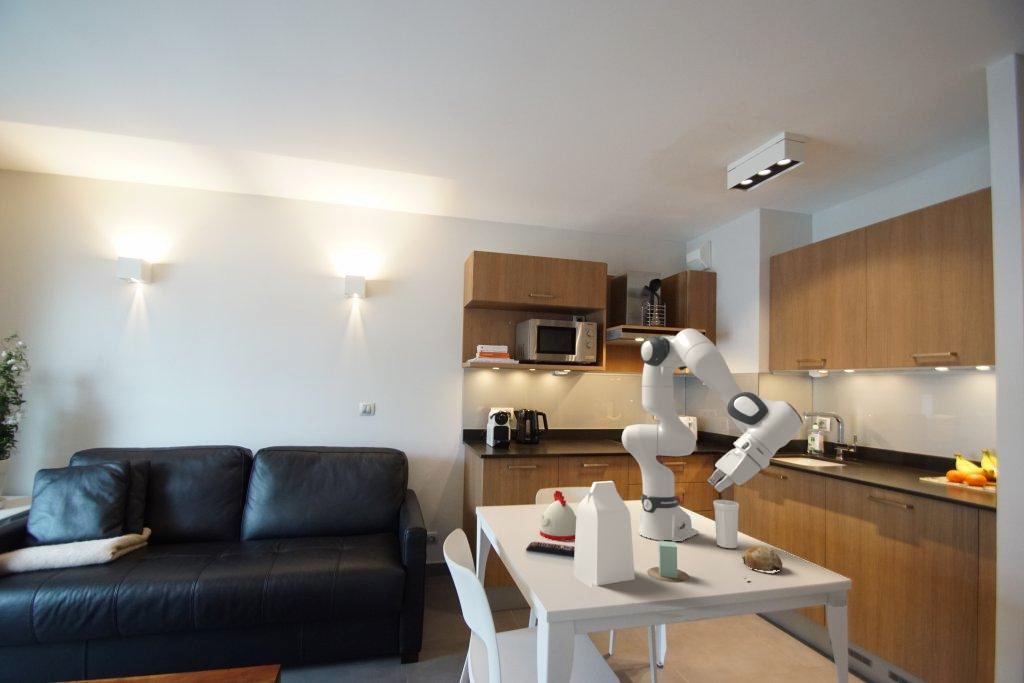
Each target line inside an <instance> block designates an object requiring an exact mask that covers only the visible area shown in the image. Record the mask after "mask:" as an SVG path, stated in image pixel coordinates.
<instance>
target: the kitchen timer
mask: <svg viewBox="0 0 1024 683" xmlns="http://www.w3.org/2000/svg"><path fill="white" fill-rule="evenodd" d="M553 498H554V501H553V502H551V504H549V506H548V507H547V508H546V510H545V511H544V513H543V514H541V517H540V527H539V536H540V535H541V536H543V537H545V538H548V539H547V540H549V539H552V540H551V541H554V540H559V541H558V542H568V541H567V540H571V541H575V540H574V539H575V534H576V516H577V515H576V514H575V512H574V510H573V508H572V507H571V506H570V505H569V504H568V503H567V501H566V500H565V496H564V495H563V492H562V491H561V490H560V491H559V490H555V492H554V493H553ZM541 536H540V537H541ZM543 537H542V538H543ZM545 538H544V539H545ZM562 540H563V541H562Z"/></svg>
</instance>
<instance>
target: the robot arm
mask: <svg viewBox="0 0 1024 683" xmlns="http://www.w3.org/2000/svg"><path fill="white" fill-rule="evenodd" d="M640 357H641V360H642V361H643V363H644V365H643V370H642V377H641V379H642V380H641V404H642V408H643V410H645V411H646V412H647V413H648V414H650V415H651V416H654V417H655V418H658V419H659V424H658V423H657V424H652V423H651V424H649V423H638V424H631V425H627V426H626V427H625V428H624V430H623V431H622V435H621V442H622V446H623V447H624V449H625V450H626V451H627V452H628V453H630V455H631V456H633V458H634V459H635V460H636V462H637V463H638V465H639V468H640V471H641V472H640V473H641V482H642V492H641V497H640V499H641V507H640V515H639V524H638V525H637V529H639V530H638V531H637V532H638V533H637V534H639V535H640V536H641V535H642V537H644V538H646V537H647V538H648V539H650V538H651V539H650V540H654V541H655V540H656V541H664V540H672V541H671V542H676V541H682V542H684V541H686V540H685V539H687V538H689V539H691V538H693V537H695V536H694V535H696V534H698V535H699V534H700V533H699V531H698V530H697V529H696V528H694V527H692V524H693V523H692V519H691V516H690V515H689V514H688V513H687V512H686V511H684V510H683V509H682V508H681V506H679V502H680V503H681V502H683V500H684V497H683V496H682V495H679V494H677V495H676V494H675V493H676V489H675V488H676V487H675V484H676V482H675V474H674V472H673V470H671V469H670V468H669V467H668V466H666V465H664V464H662V463H660V462H659V461H658V459H657V456H665V457H666V456H667V457H668V456H669V457H682V456H690V455H691V454H692V453H693V452H694V450H695V448H696V446H697V439H696V436H695V433H694V432H693V430H692V429H691V428H690V427H689V426H687V425H686V424H684V422H683V421H682V420H681V418H680V417H679V416H678V413H677V411H676V406H675V397H674V372H675V371H676V370H677V369H679V371H684V370H686V369H688V370H689V371H690V372H691V373H692V374H693V376H695V377H696V378H697V379H699V380H700V381H701V382H702V383H704V385H706V386H707V387H708V388H710V390H711V391H713V393H715V394H717V396H718V397H719V398H721V400H722V401H723V402H724V403H725V405H726V408H727V409H726V410H727V412H728V415H729V417H730V418H731V420H732V421H733V423H734V424H735V425H736V427H737V428H738V430H739V431H740V433H741V434H742V435H740V437H738V438H737V439H736V441H734V442H733V445H734V447H735V448H732V449H731V450H729V451H727V453H726V454H724V455H722V457H721V458H719V459H718V460H717V462H715V465H714V466H715V468H716V469H715V470H714V471H713V473H712V475H711V476H710V477H709V478H707V482H708V483H709V484H710V485H711V486H713V487H714V489H715V490H716V491H717V492H719V493H721V492H723V491H724V490H725V489H726V488H728V487H730V486H732V485H733V484H735V485H737V486H741V485H743V484H745V483H746V482H748V481H749V480H750V479H752V478H753V477H754V476H755V475H756V474H758V473H759V472H760V471H761V469H762V470H765V469H766V468H767V467H769V466H770V463H771V462H770V460H771V459H772V458H773V457H774V456H775V454H777V451H778V450H779V449H780V448H783V447H785V446H786V445H787V444H788V443H789V442H791V440H793V438H794V437H796V435H797V434H798V433H799V432H800V431H801V429H802V427H803V425H804V424H803V422H804V421H803V419H802V417H801V415H800V413H799V412H798V411H797V409H795V407H793V405H792V404H790V403H789V402H787V401H786V400H785V401H784V400H777V401H776V400H771V399H767V398H764V397H761V396H758V395H756V394H755V393H753V392H748V391H746V392H743V390H742V389H741V388H740V387H739V384H737V382H736V379H735V378H734V376H733V374H732V372H731V369H730V367H729V366H728V364H727V362H726V360H725V359H724V356H723V355H722V353H721V352H720V350H719V349H718V347H717V346H716V345H715V344H714V343H713V341H711V340H710V339H709V338H708V337H707V336H706V335H705V334H703V333H702V332H700V331H699V330H697V329H695V328H685V329H682V330H681V331H679V332H678V333H677V334H676V335H675V336H674V335H670V336H660V335H656V336H649V337H647V338H645V339H644V341H643V342H642V343H641V346H640ZM722 477H723V479H722V480H720V479H721V478H722ZM719 480H720V481H719ZM692 536H693V537H692ZM696 536H697V535H696ZM690 537H691V538H690ZM683 540H684V541H683ZM687 540H688V539H687Z"/></svg>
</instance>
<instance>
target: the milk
mask: <svg viewBox="0 0 1024 683" xmlns="http://www.w3.org/2000/svg"><path fill="white" fill-rule="evenodd" d="M616 487H617V486H616V484H615V482H614V481H612V480H606V481H594V482H592V484H591V486H590V490H589V492H588V493H587V494H586V495H585V497H584V498H583V499H582V500H581V501H580V502H579V504H578V505H577V507H576V515H575V516H576V534H575V540H574V558H573V577H574V578H576V579H577V580H579V582H582V584H584V585H586V586H587V587H589V588H590V589H592V586H593V585H594V586H596V587H597V586H604V585H609V584H610V585H611V584H613V583H614V584H615V583H620V582H627V581H632V580H636V578H635V566H634V565H635V564H634V550H633V549H634V548H633V534H632V533H633V532H632V517H631V512H630V509H629V508H628V506H627V504H626V503H625V502H624V500H623V499H622V497H621V495H620V494H619V493H618V491H617V488H616Z"/></svg>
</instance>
